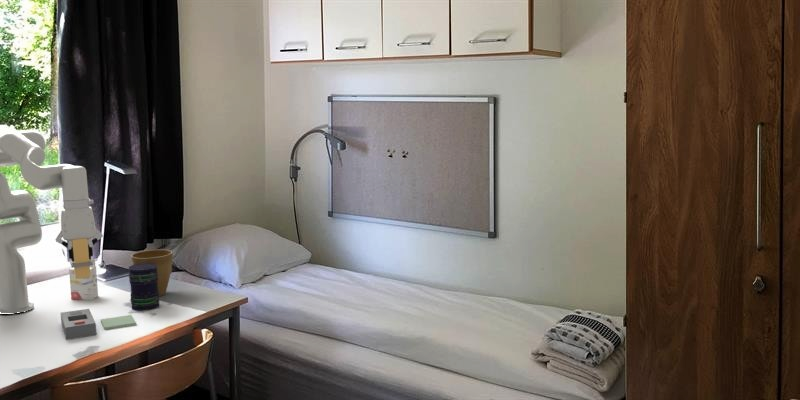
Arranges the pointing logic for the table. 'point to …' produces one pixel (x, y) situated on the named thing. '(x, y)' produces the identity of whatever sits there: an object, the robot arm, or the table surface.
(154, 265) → the storage jar
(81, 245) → the plug
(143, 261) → the plant pot
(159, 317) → the table surface
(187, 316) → the table surface
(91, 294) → the ink cartridge box
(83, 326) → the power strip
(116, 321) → the mat
